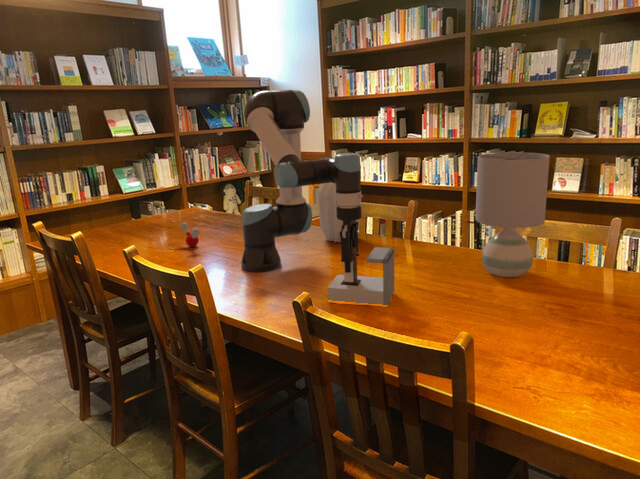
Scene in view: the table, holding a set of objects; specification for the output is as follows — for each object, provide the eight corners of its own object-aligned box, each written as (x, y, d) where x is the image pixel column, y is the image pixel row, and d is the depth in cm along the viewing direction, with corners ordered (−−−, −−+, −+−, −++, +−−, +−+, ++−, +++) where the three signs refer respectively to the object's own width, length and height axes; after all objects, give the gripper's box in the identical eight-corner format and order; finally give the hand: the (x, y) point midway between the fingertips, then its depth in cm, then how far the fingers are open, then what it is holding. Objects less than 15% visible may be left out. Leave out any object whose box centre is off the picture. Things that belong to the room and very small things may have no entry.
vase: (312, 237, 229) (309, 178, 222) (350, 231, 237) (348, 174, 229) (329, 247, 212) (327, 183, 205) (369, 241, 219) (368, 179, 212)
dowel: (343, 295, 156) (342, 249, 152) (346, 291, 159) (345, 246, 156) (356, 296, 155) (354, 250, 151) (359, 291, 158) (357, 246, 154)
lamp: (491, 260, 186) (497, 151, 175) (550, 272, 171) (560, 153, 160) (461, 275, 172) (465, 158, 161) (523, 290, 156) (532, 161, 146)
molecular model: (177, 244, 228) (175, 223, 226) (189, 241, 232) (186, 220, 229) (195, 251, 215) (193, 229, 213) (208, 248, 219) (205, 226, 216)
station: (327, 302, 154) (325, 256, 150) (338, 288, 165) (336, 245, 161) (387, 307, 148) (387, 259, 144) (394, 293, 159) (394, 248, 155)
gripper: (353, 212, 141) (355, 289, 147) (367, 200, 156) (368, 270, 162) (328, 211, 143) (331, 287, 149) (344, 200, 159) (346, 269, 165)
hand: (350, 278), depth 156 cm, fingers open, 4 cm apart
